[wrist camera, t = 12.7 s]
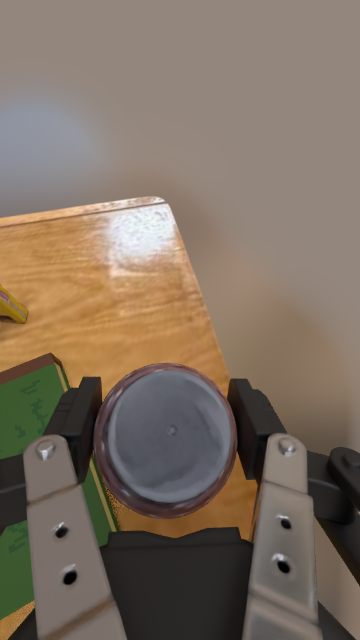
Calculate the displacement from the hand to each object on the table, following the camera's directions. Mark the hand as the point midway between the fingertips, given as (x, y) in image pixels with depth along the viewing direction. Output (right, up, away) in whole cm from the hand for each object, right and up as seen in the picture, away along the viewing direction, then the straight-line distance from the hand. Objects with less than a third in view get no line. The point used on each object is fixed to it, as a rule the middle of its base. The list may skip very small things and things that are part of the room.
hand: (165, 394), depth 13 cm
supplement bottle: (-1, -5, +6) cm, 8 cm away
